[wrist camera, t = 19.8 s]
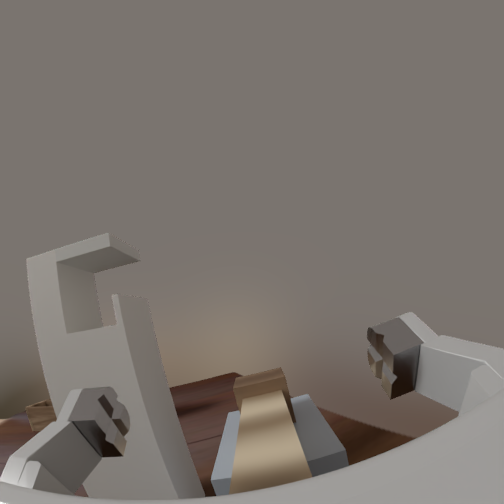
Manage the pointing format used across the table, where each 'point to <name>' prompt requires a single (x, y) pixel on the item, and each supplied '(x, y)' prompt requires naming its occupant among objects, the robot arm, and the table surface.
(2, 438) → the table surface
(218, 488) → the block
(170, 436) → the stand
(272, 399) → the mallet
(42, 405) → the parts tray
